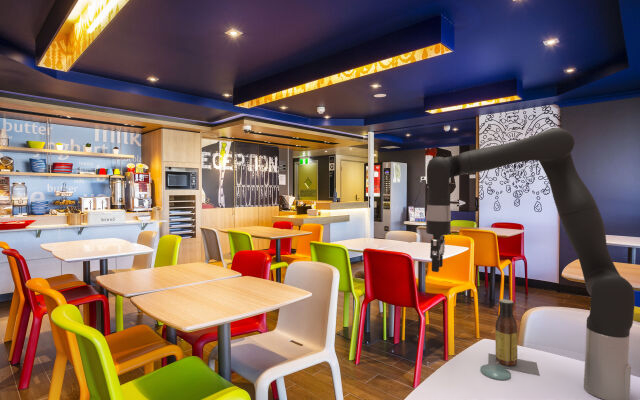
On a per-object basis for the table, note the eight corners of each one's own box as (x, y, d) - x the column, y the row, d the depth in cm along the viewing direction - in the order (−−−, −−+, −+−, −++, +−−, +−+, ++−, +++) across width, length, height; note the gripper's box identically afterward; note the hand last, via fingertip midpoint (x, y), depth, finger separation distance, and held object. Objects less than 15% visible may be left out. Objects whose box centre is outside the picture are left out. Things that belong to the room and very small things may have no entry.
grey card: (536, 362, 116) (536, 362, 116) (539, 375, 108) (539, 375, 108) (488, 353, 122) (488, 353, 122) (488, 365, 114) (488, 364, 114)
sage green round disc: (510, 370, 111) (510, 368, 111) (511, 383, 104) (512, 381, 104) (480, 363, 115) (480, 362, 115) (479, 376, 107) (479, 374, 107)
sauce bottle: (512, 358, 119) (514, 298, 118) (520, 367, 113) (523, 304, 112) (491, 357, 120) (493, 297, 119) (498, 366, 113) (500, 303, 113)
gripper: (448, 221, 109) (446, 275, 110) (452, 218, 122) (451, 266, 122) (422, 220, 112) (421, 272, 113) (429, 217, 125) (428, 264, 126)
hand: (437, 269), depth 118 cm, fingers open, 8 cm apart
